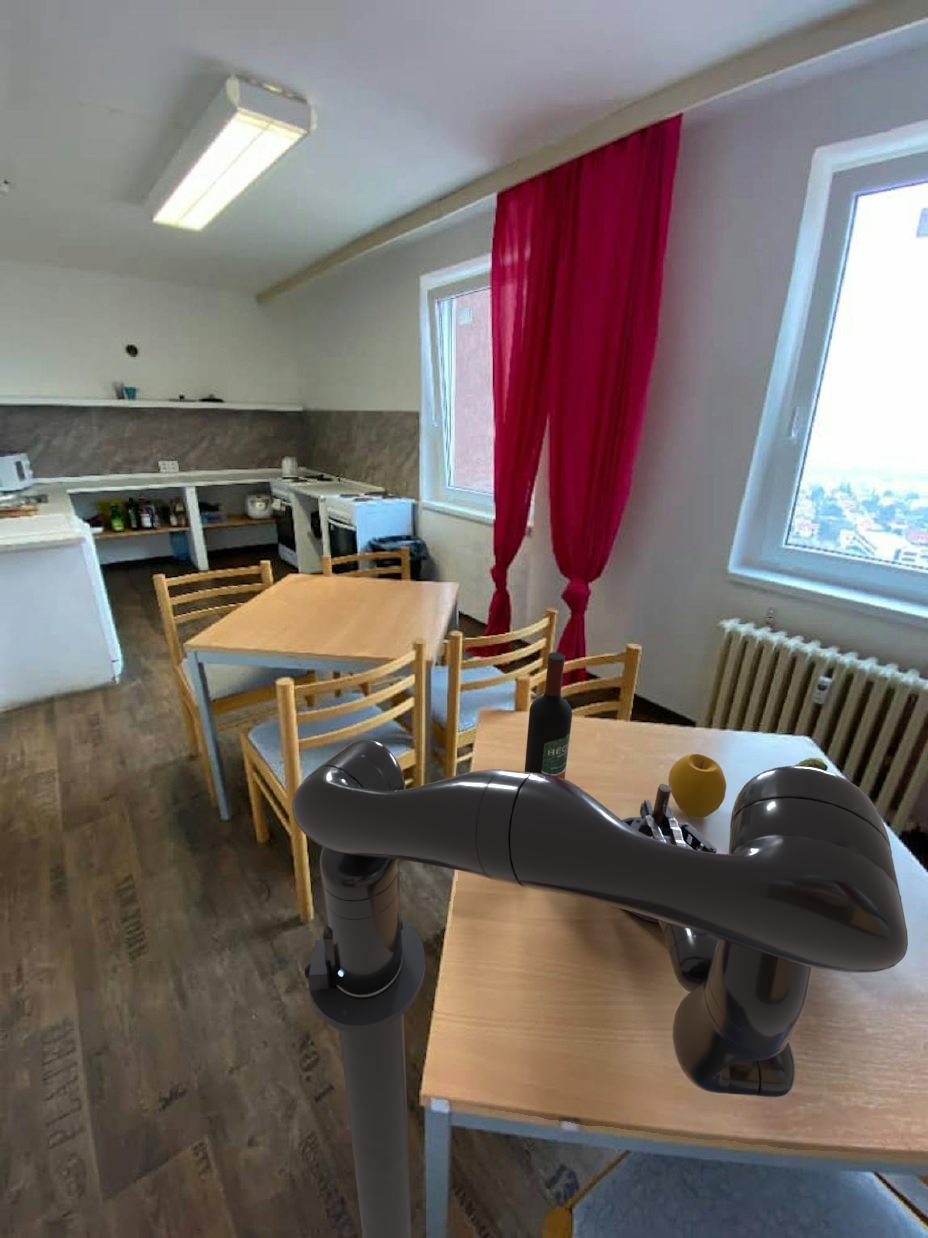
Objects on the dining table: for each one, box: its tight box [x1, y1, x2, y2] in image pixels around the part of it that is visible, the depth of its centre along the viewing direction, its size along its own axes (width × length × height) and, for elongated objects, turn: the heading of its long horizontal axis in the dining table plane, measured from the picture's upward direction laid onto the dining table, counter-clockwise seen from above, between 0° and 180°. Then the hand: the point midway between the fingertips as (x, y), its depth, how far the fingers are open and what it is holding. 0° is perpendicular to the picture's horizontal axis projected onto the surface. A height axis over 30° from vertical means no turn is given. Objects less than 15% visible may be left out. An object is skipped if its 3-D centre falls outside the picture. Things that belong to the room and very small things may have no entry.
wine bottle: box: [523, 651, 573, 779], centre depth 94 cm, size 8×8×30 cm
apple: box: [667, 753, 727, 819], centre depth 95 cm, size 10×10×12 cm
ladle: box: [652, 783, 672, 833], centre depth 80 cm, size 5×5×16 cm
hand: (653, 805), depth 82 cm, fingers closed on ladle
